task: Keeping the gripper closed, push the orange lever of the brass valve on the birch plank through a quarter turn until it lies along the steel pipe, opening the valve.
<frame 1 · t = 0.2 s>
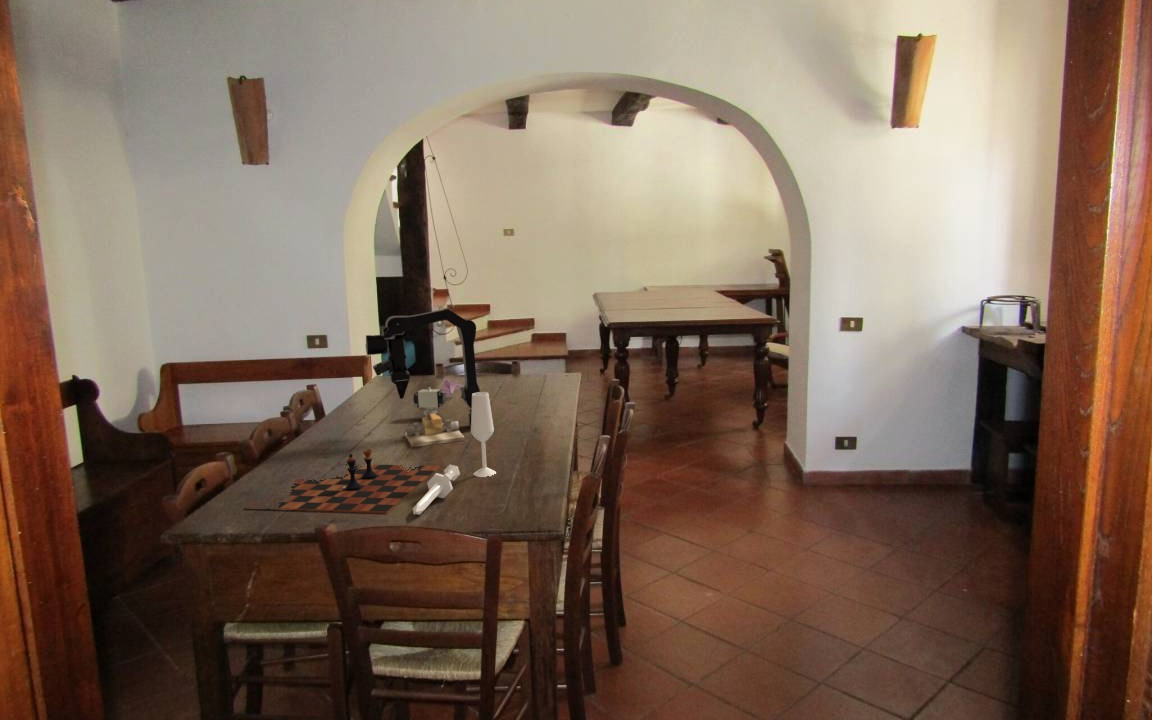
hand: (400, 396, 269), 14 cm above the table, tool pointing down, fingers open, 9 cm apart
lily: (450, 399, 329), on the table
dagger: (437, 502, 203), on the table
valve lever: (434, 417, 263), point 8 cm above the table, hinge at 0.0°
pneumatic valve: (431, 418, 297), on the table
chessboard: (350, 489, 218), on the table
valve plank: (434, 438, 267), on the table
champagne flute: (485, 474, 225), on the table
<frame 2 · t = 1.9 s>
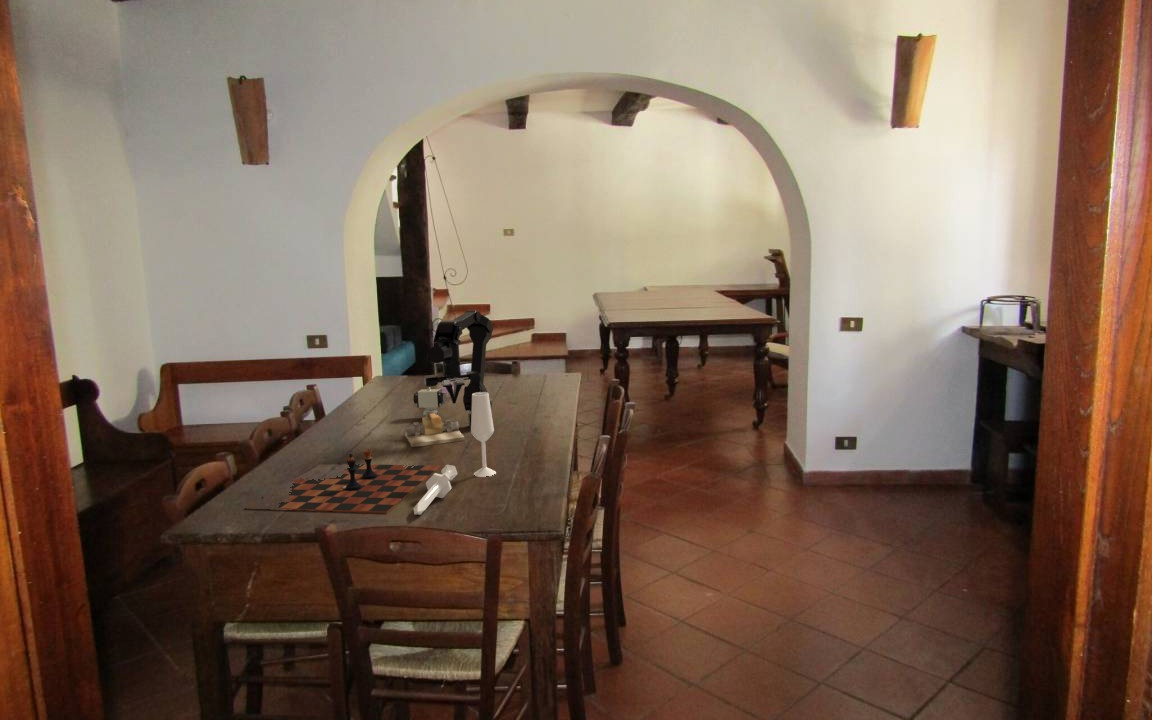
hand: (454, 403, 261), 13 cm above the table, tool pointing down, fingers closed
nothing on the table moved.
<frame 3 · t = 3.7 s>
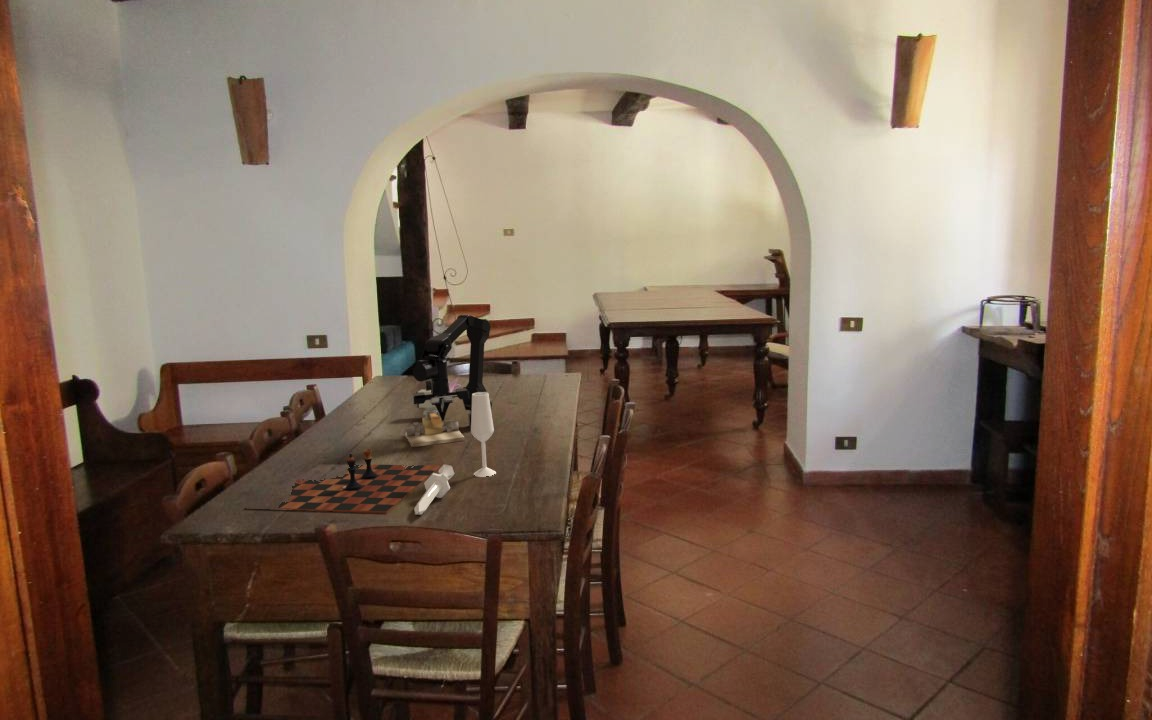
hand: (442, 420, 261), 7 cm above the table, tool pointing down, fingers closed
valve lever: (434, 417, 263), point 8 cm above the table, hinge at -0.1°, touching gripper
everything else where it was.
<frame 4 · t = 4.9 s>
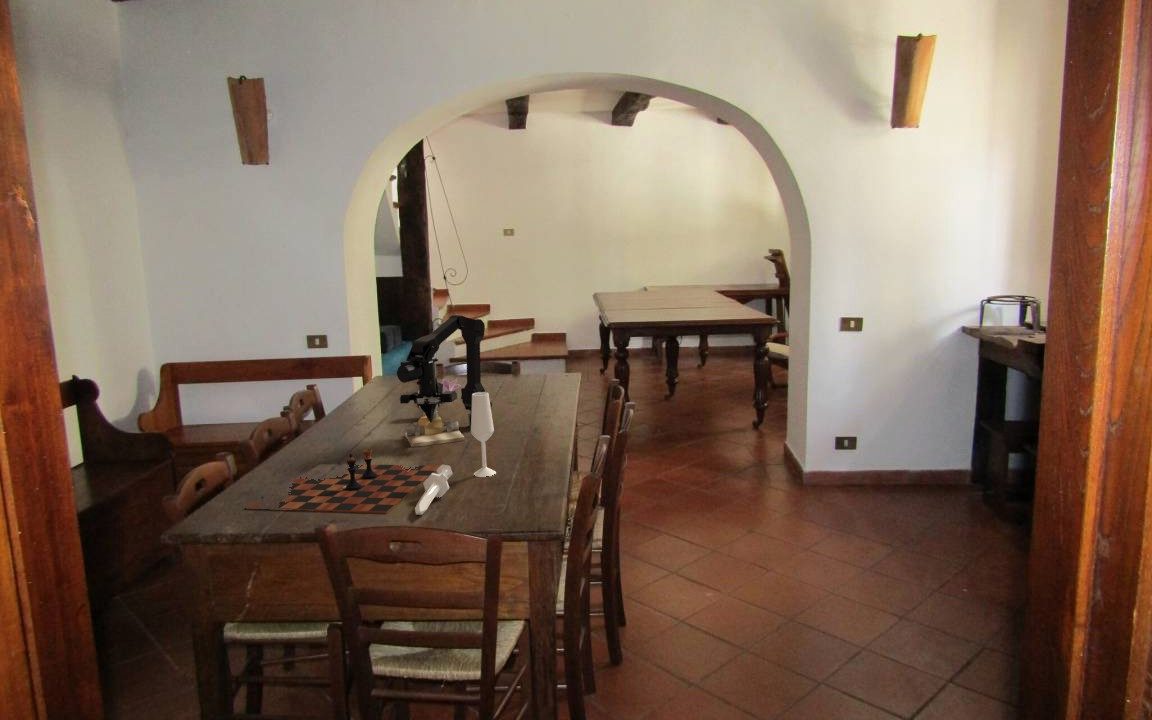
hand: (431, 421, 259), 7 cm above the table, tool pointing down, fingers closed
valve lever: (427, 417, 263), point 8 cm above the table, hinge at -24.1°, touching gripper
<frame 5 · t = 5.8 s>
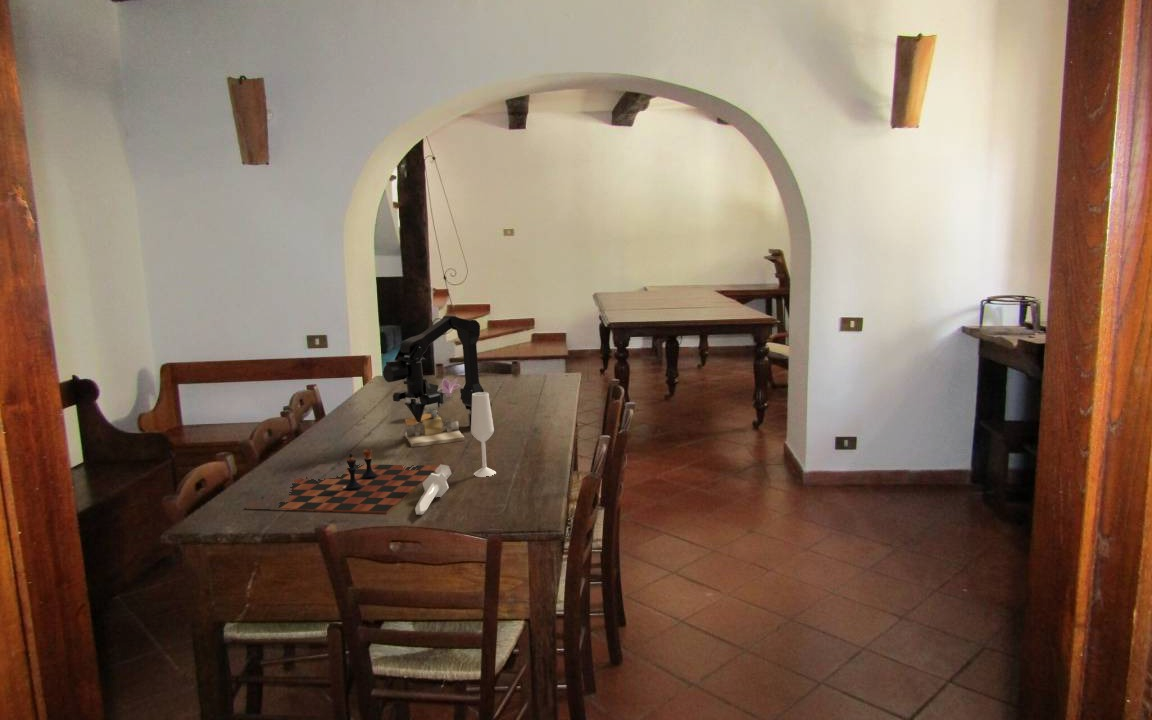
hand: (419, 422, 259), 7 cm above the table, tool pointing down, fingers closed
valve lever: (421, 417, 264), point 8 cm above the table, hinge at -49.2°, touching gripper
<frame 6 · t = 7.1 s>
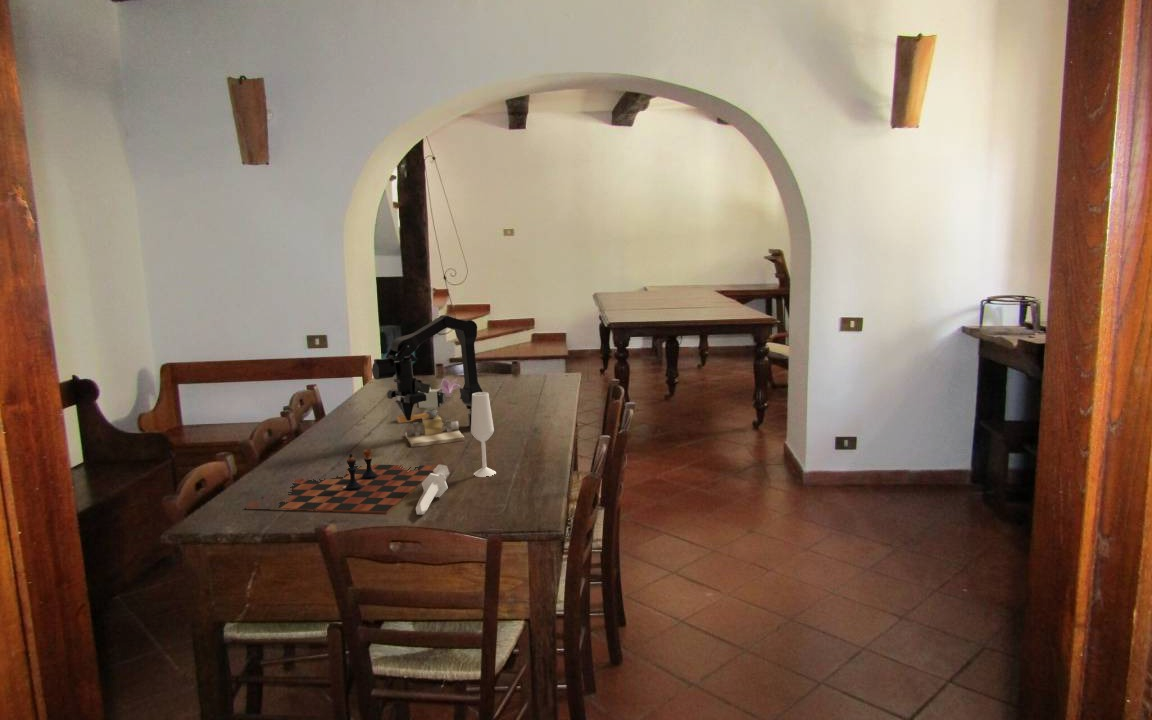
hand: (408, 420, 262), 8 cm above the table, tool pointing down, fingers closed
valve lever: (417, 416, 265), point 8 cm above the table, hinge at -79.3°, touching gripper
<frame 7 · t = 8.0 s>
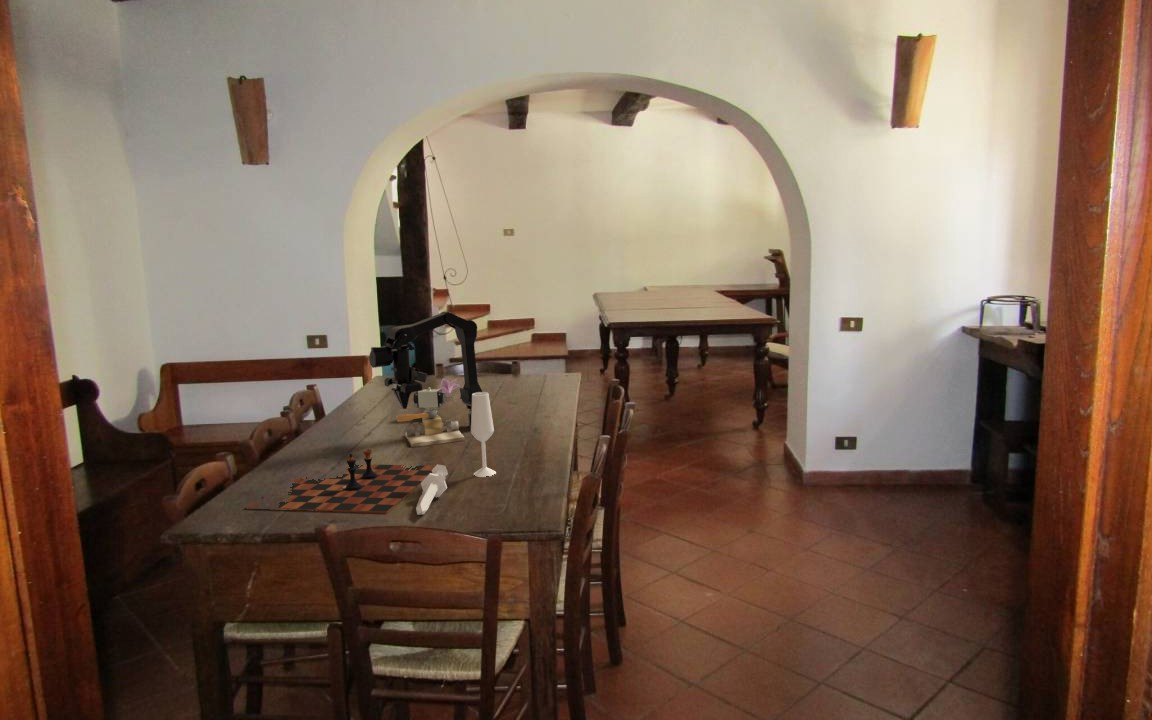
hand: (404, 408, 263), 11 cm above the table, tool pointing down, fingers closed
valve lever: (416, 416, 266), point 8 cm above the table, hinge at -86.9°
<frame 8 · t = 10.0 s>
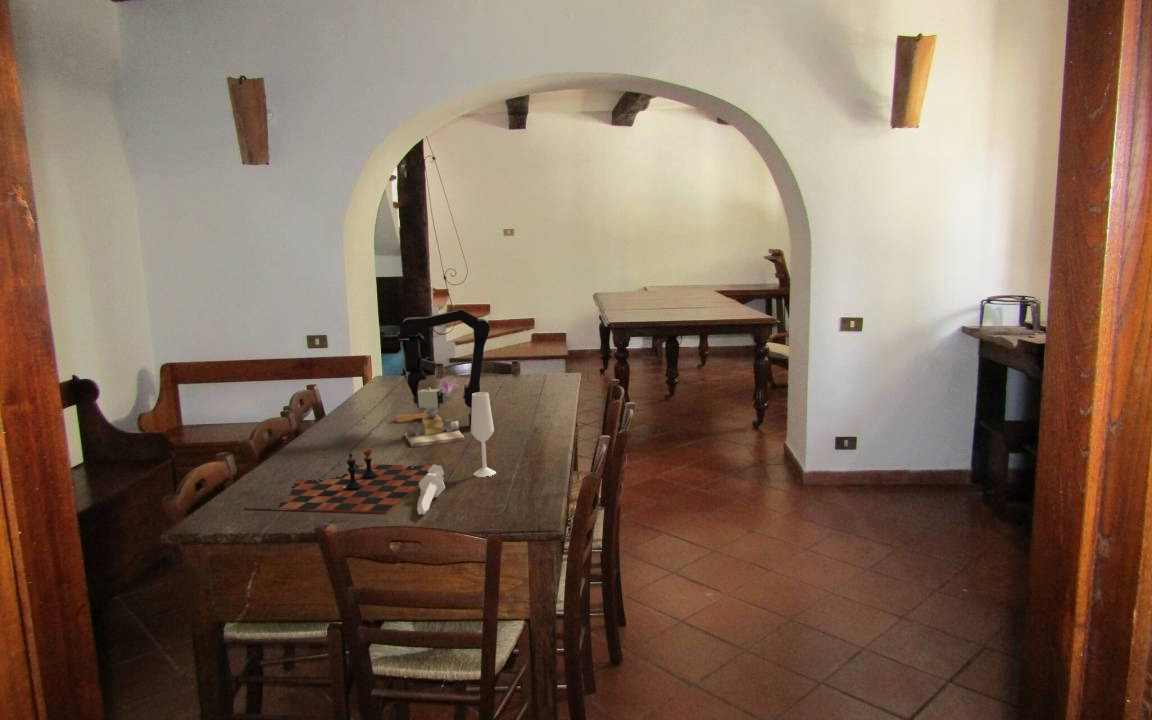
hand: (414, 395, 275), 13 cm above the table, tool pointing down, fingers closed
at the end: valve lever at -87° (first picture: +0°) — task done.
